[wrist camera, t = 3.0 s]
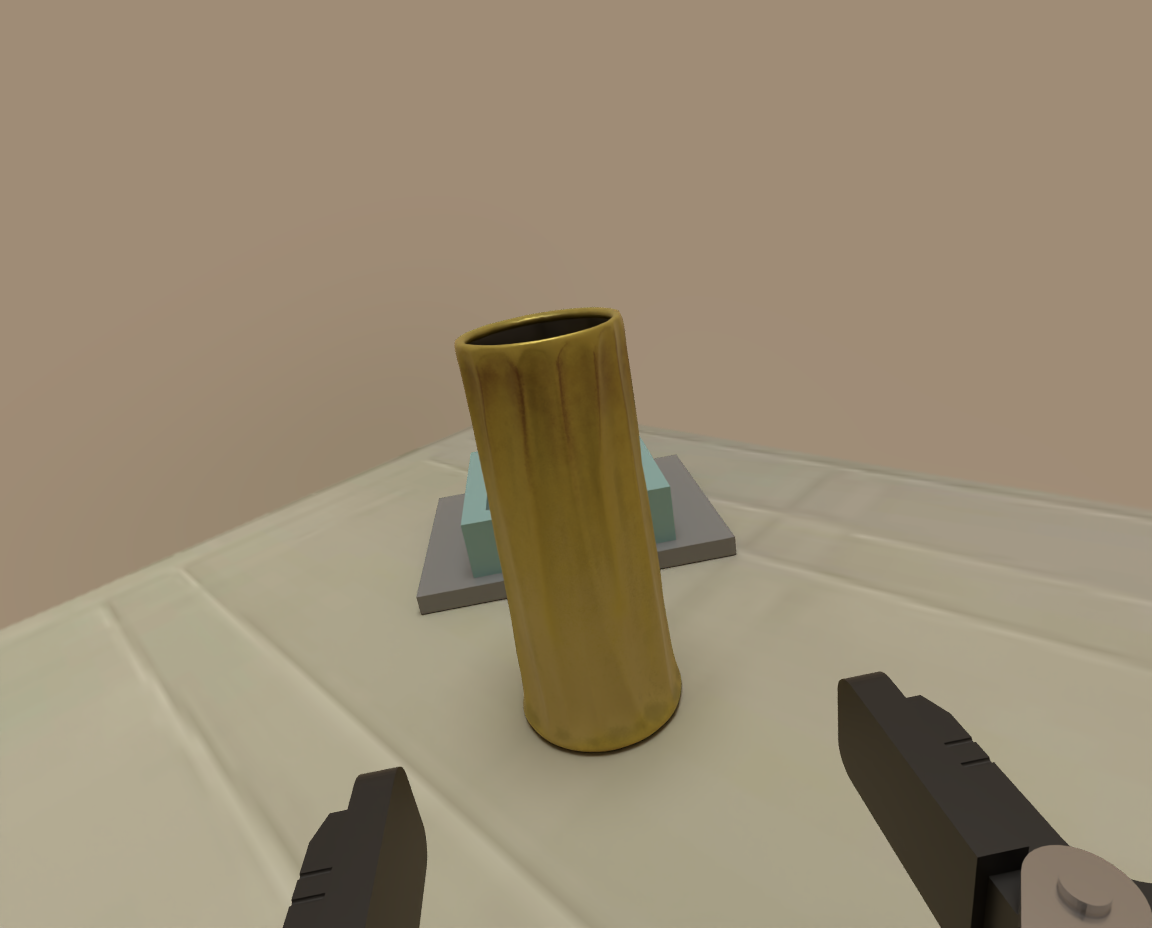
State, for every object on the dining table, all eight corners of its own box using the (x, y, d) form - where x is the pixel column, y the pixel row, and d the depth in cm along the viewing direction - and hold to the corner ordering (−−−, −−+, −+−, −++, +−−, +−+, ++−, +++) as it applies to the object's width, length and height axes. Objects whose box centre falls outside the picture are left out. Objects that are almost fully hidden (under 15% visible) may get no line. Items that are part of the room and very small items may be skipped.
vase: (672, 635, 28) (630, 296, 23) (693, 746, 22) (645, 328, 17) (531, 651, 28) (458, 323, 23) (517, 765, 23) (416, 363, 17)
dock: (421, 614, 32) (400, 544, 31) (442, 511, 43) (428, 456, 42) (736, 554, 33) (730, 482, 31) (677, 468, 44) (671, 412, 43)
